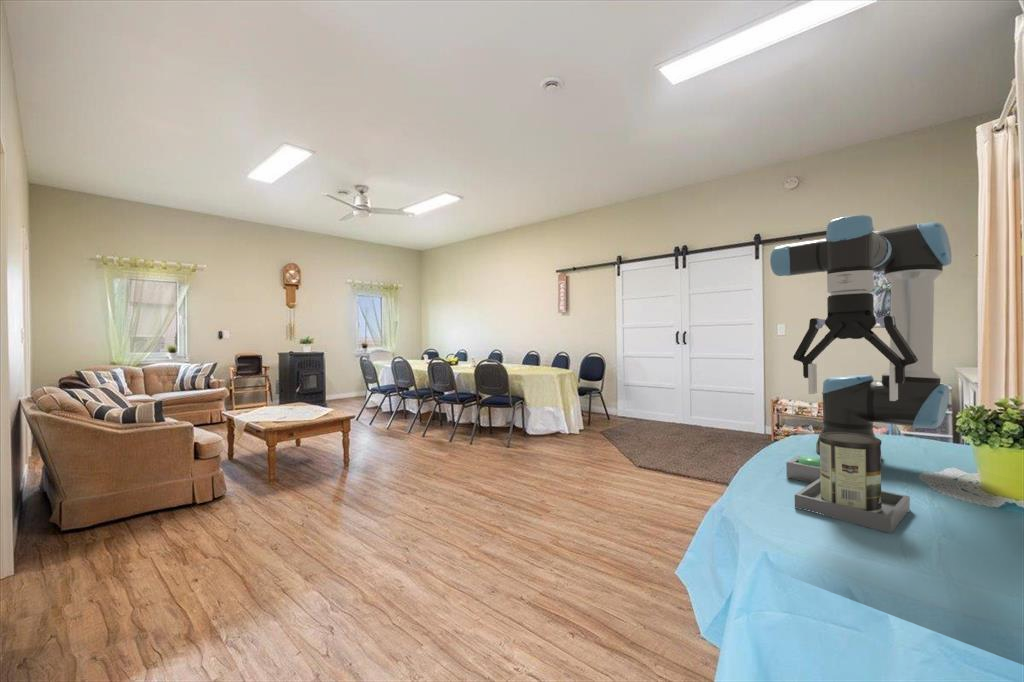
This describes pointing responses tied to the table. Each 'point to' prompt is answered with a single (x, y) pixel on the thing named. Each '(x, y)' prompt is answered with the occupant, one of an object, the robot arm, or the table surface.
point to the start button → (809, 461)
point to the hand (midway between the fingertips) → (850, 396)
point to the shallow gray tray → (883, 521)
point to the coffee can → (851, 470)
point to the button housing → (802, 471)
